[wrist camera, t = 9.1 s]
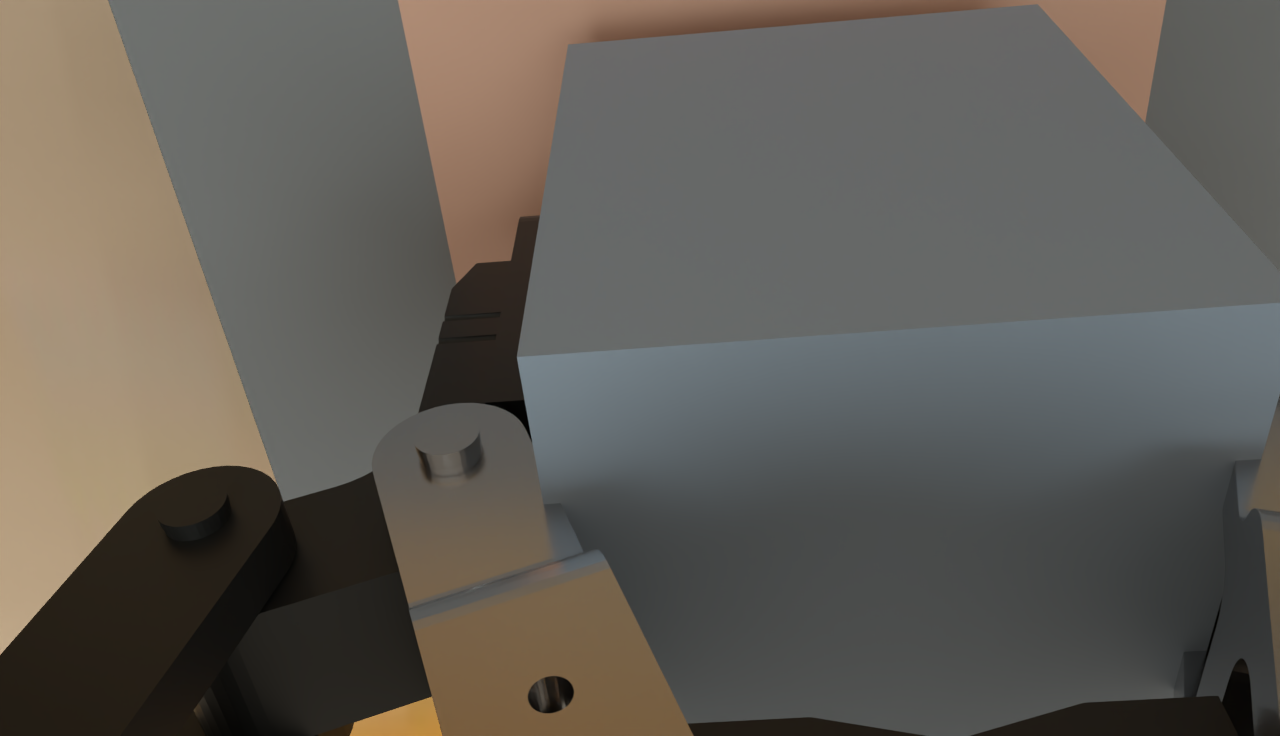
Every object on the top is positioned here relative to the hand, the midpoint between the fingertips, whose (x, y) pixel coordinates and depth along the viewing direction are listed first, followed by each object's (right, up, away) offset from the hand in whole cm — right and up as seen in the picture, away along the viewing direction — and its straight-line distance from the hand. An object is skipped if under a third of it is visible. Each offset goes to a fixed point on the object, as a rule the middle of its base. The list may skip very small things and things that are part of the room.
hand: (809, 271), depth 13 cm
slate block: (0, +1, +1) cm, 1 cm away
